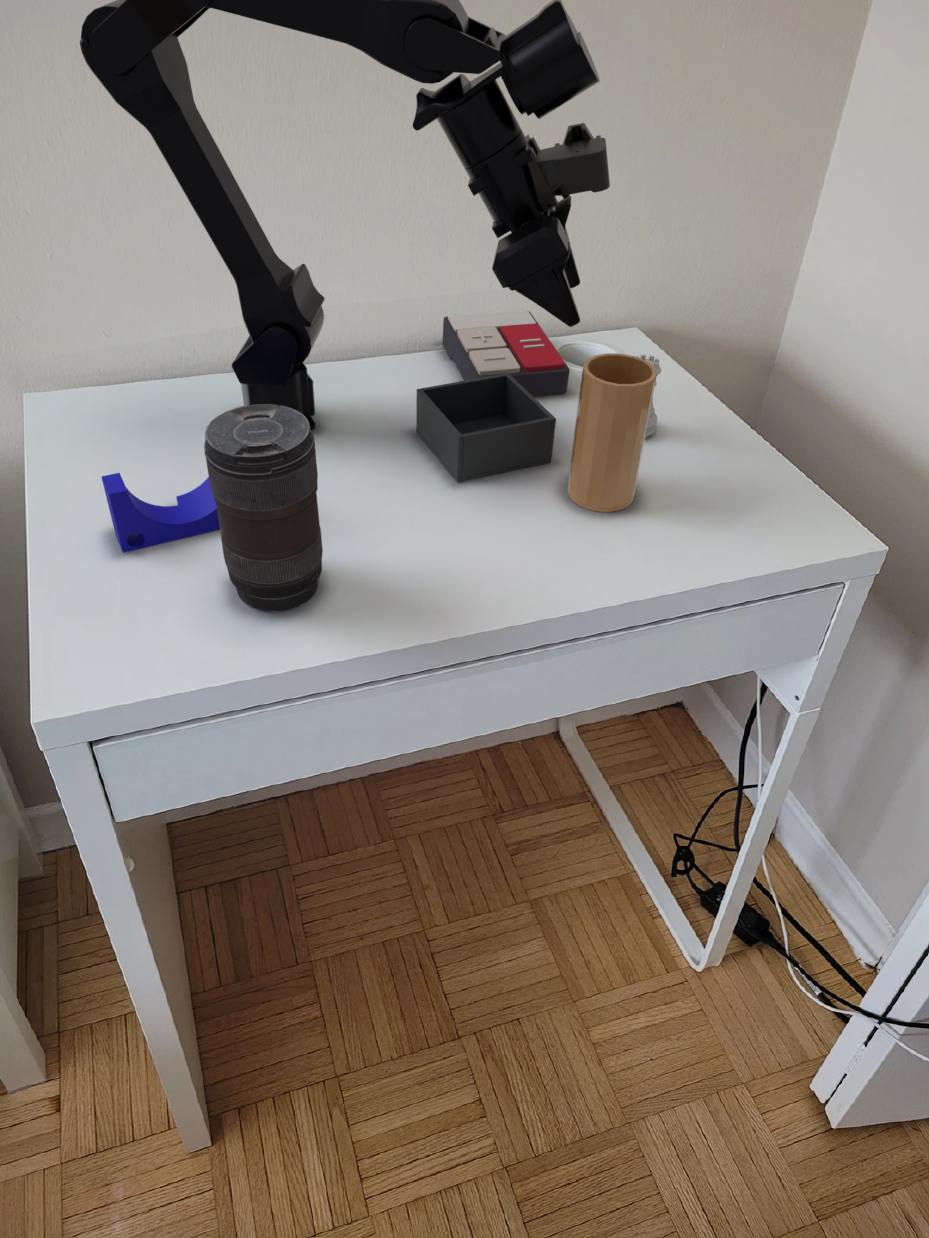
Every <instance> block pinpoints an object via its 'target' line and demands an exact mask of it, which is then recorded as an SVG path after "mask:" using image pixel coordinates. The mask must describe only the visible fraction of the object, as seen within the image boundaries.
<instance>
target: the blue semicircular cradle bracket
mask: <svg viewBox="0 0 929 1238" xmlns="http://www.w3.org/2000/svg"><path fill="white" fill-rule="evenodd" d="M101 482H102V485H103V489H104V494H105V497H106V502H107V507H108V510H109V514H110V518H111V522H112V526H113V530H114V534H115V536H116V539H117V542H118V544H119V547H120V550H121V551H122V554H125V553H129V552H133V551H137V550H141V549H146V548H149V547H153V546H157V545H162V544H166V543H171V542H174V541H178V540H182V539H187V538H192V537H195V536H198V535H199V536H201V535H203V534H206V533H212V532H215V531H220V525H219V519H218V512H217V506H216V502H215V499H214V496H213V493H212V490H211V486H210V480H209V476H208V477H207V478H206V479H205V480H204V481H203V482H202V483H200V485H198V486H197V487H195V488H194V489H192V490H190V491H188V492H186V493H183V494H180V495H176V496H175V498H176V504H177V505H168V506H166V505H156V504H153V503H150V502H146V501H144V500H141V499H140V498H138V497H137V496H135V495H134V494H133V493H132V492H131V491H130V490H129V488H128V487H127V486H126V484H125V482H124V479H123V478H122V475H121V473H120V472H116V473H111V474H107V475H106V474H105V475H102V476H101Z"/></svg>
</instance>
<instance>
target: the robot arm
mask: <svg viewBox="0 0 929 1238" xmlns="http://www.w3.org/2000/svg"><path fill="white" fill-rule="evenodd" d="M210 9H213V10H217V11H222V12H225V13H228V14H233V15H237V16H240V17H243V18H246V19H247V18H248V19H251V20H254V21H259V22H263V23H266V24H270V25H273V26H278V27H281V28H285V29H289V30H292V31H297V32H300V33H304V34H308V35H312V36H316V37H319V38H323V39H328V40H331V41H333V42H338V43H342V44H345V45H347V46H350V47H352V48H354V49H357V50H359V51H361V52H362V53H363V54H365V55H367V56H369V57H370V58H371V59H373V60H374V61H376V62H377V63H379V64H380V65H382V66H384V67H386V68H388V69H390V70H392V71H395V72H397V73H399V74H401V75H402V76H405V77H407V78H409V79H411V80H413V81H415V82H418V83H421V84H427V85H428V84H429V85H432V84H438V83H441V82H442V81H444V80H445V79H447V78H448V77H450V76H451V75H453V74H454V73H458V75H457V76H455V77H454V78H453V79H451V80H449V81H448V82H447V83H445V84H443V85H442V86H441V87H439V88H437V89H436V90H429V89H426V88H424V87H421V88H419V89H418V92H417V93H416V96H415V98H416V108H415V114H414V119H413V122H412V129H413V130H414V131H421V130H422V129H424V128H425V127H427V126H428V125H430V124H431V123H433V122H434V121H437V122H438V123H439V126H440V128H441V129H442V131H443V132H444V135H445V136H446V139H448V141H449V144H450V145H451V147H452V149H453V150H454V152H455V154H456V156H457V158H458V159H459V161H460V163H461V164H462V167H463V169H464V170H465V172H466V174H467V175H468V177H469V180H468V183H467V187H468V189H469V190H470V192H471V194H472V196H473V197H475V196H476V195H478V196H479V198H480V199H481V201H482V202H483V204H484V206H485V208H486V209H487V212H488V213H489V215H490V218H491V219H492V220H493V221H492V226H491V229H492V231H493V233H494V235H495V237H496V239H498V242H497V244H496V245H497V246H496V249H495V253H494V257H493V262H492V268H491V270H492V271H493V274H494V275H495V278H496V279H497V281H498V282H499V284H500V286H501V287H502V289H506V288H508V289H509V290H510V291H512V292H513V291H515V292H517V293H518V294H520V295H521V296H523V297H525V298H527V299H528V300H529V301H531V302H533V303H535V305H536V306H537V305H538V306H539V307H540V308H542V309H543V310H545V311H546V312H548V313H549V314H550V315H552V316H553V317H555V318H556V319H557V320H559V321H561V322H562V323H563V324H565V325H566V326H567V327H569V328H572V327H574V326H576V325H579V323H581V317H580V314H579V310H578V307H577V304H576V301H575V297H574V294H573V292H572V289H574V288H576V287H578V286H579V285H581V279H580V275H579V271H578V266H577V263H576V260H575V256H574V252H573V248H572V245H571V241H570V237H569V234H568V230H567V226H566V225H567V222H568V219H569V215H570V211H571V209H572V208H571V207H572V196H571V195H576V194H580V193H581V194H582V193H585V192H591V193H600V192H604V191H606V190H608V189H609V188H610V186H611V183H610V173H609V171H610V170H609V162H608V161H609V160H608V150H607V140H606V138H605V137H602V136H601V134H599V135H595V137H594V135H592V132H591V131H590V130H589V127H588V126H587V125H586V123H584V122H581V123H576V124H571V125H568V126H567V129H566V132H565V135H564V138H563V142H562V144H560V142H557V143H554V146H551V147H547V148H542V149H541V148H540V146H539V144H538V143H537V141H536V138H535V137H534V136H532V137H531V136H530V135H529V134H526V135H525V133H524V131H523V130H522V128H521V125H520V123H519V121H518V119H517V118H516V115H515V114H514V112H513V110H512V108H511V106H510V103H509V102H508V99H507V98H506V96H505V95H504V92H503V90H502V88H501V86H500V84H499V83H498V81H497V80H498V79H499V78H501V80H502V82H503V84H504V86H505V88H506V91H507V93H508V95H509V97H510V99H511V101H512V102H513V104H514V107H515V108H516V109H517V111H518V112H519V114H521V115H525V114H526V115H527V117H529V116H531V115H532V114H534V116H535V117H536V118H537V119H538V120H540V119H543V118H545V117H546V116H547V115H549V114H551V113H552V112H554V111H555V110H557V109H558V108H560V107H562V106H563V105H565V104H566V103H568V102H569V101H571V100H572V99H574V98H576V97H577V96H579V95H580V94H582V93H584V92H585V91H587V90H588V89H590V88H592V87H594V86H595V85H596V84H598V83H600V81H601V80H600V76H599V73H598V71H597V67H596V65H595V63H594V60H593V58H592V55H591V53H590V51H589V48H588V46H587V44H586V42H585V40H584V37H583V35H582V33H581V31H579V32H578V30H577V28H576V26H575V25H574V23H573V20H572V19H571V17H570V15H569V13H568V12H567V10H566V8H565V6H564V3H563V2H562V0H551V1H549V2H548V3H547V4H545V5H544V6H543V7H542V8H541V9H540V11H538V13H536V14H535V15H534V16H533V17H530V19H529V20H527V21H526V22H524V23H522V24H521V25H519V26H518V27H516V28H514V29H513V30H512V31H510V32H509V33H507V34H505V33H503V32H501V31H500V30H497V29H495V28H494V27H491V26H489V25H487V24H485V23H484V22H483V23H482V22H480V21H479V20H476V19H474V18H472V17H470V16H468V13H467V11H466V9H465V8H464V5H463V4H462V3H461V1H460V0H114V1H111V2H109V3H106V4H104V5H101V6H98V7H97V8H94V9H92V11H91V12H89V14H87V15H86V17H85V18H84V21H83V23H82V25H81V32H80V40H79V46H80V51H81V54H82V57H83V59H84V62H85V63H86V65H87V66H88V68H89V69H90V71H91V72H92V73H93V76H95V77H96V78H97V80H98V81H99V82H100V84H101V85H102V87H104V89H105V90H106V92H107V93H108V94H109V95H110V96H111V98H112V99H113V101H115V103H116V104H117V105H118V106H120V107H121V109H123V110H124V111H125V112H126V113H127V114H128V115H130V116H131V117H132V118H134V120H135V121H137V122H139V124H140V125H142V126H143V127H144V128H145V129H146V130H147V133H149V135H150V136H151V138H152V140H153V141H154V143H155V144H156V147H157V148H158V150H159V151H160V153H161V156H162V157H163V159H164V160H165V162H166V164H167V165H168V167H169V169H170V171H171V172H172V174H173V176H174V177H175V179H176V181H177V183H178V184H179V186H180V188H181V190H182V192H184V195H185V197H186V199H187V200H188V202H189V204H190V205H191V207H192V209H193V210H194V213H195V214H196V216H197V218H198V219H199V221H200V222H201V224H202V227H203V228H204V230H205V231H206V233H207V235H208V236H209V238H210V240H211V241H212V243H213V245H214V248H215V249H216V250H217V252H218V254H219V256H220V257H221V260H222V261H223V262H224V264H225V266H226V268H227V269H228V271H229V273H230V275H231V276H232V278H233V280H234V283H235V285H236V290H237V294H238V300H239V303H240V304H239V305H240V311H241V316H242V320H243V322H244V326H245V328H246V331H247V333H248V335H249V336H248V337H247V339H246V341H245V342H244V343H243V345H242V347H240V350H239V352H238V354H237V355H236V357H235V358H234V360H233V361H232V363H231V368H232V370H233V372H234V374H235V376H236V378H237V381H238V382H239V383H240V386H241V392H242V401H243V406H249V405H258V404H274V405H278V406H285V407H289V408H292V409H294V410H296V411H299V412H300V413H302V414H303V415H304V416H305V417H306V418H307V420H308V422H309V424H310V429H311V431H313V430H316V429H317V423H316V422H315V419H313V417H314V416H315V415H316V406H315V391H314V380H313V379H312V377H311V376H310V375H309V373H308V368H307V366H306V364H305V363H304V362H305V361H306V360H307V358H308V357H309V356H310V354H311V352H312V349H313V347H314V346H315V343H316V341H317V340H318V337H319V335H320V333H321V331H322V328H323V326H324V321H325V312H324V309H323V304H324V301H325V300H326V299H325V296H323V295H322V294H321V293H320V292H319V291H318V289H317V288H316V286H315V285H314V282H313V280H312V277H311V274H310V271H309V269H308V267H307V265H306V264H305V263H301V264H300V265H298V266H297V267H295V268H294V269H293V268H291V267H290V266H289V265H288V264H287V263H286V262H284V261H283V260H282V258H280V257H279V256H278V255H277V254H276V252H275V250H274V248H273V246H272V245H271V243H270V241H269V239H268V237H267V235H266V234H265V232H264V229H263V228H262V225H261V224H260V222H259V221H258V218H257V217H256V215H255V213H254V211H253V209H252V207H251V206H250V204H249V202H248V201H247V197H246V196H245V195H244V193H243V191H242V189H241V187H240V186H239V183H238V181H237V180H236V178H235V176H234V174H233V173H232V170H231V169H230V167H229V165H228V163H227V161H226V160H225V157H224V156H223V153H222V152H221V150H220V148H219V146H218V145H217V143H216V141H215V139H214V137H213V136H212V134H211V132H210V130H209V127H208V126H207V124H206V122H205V121H204V118H203V117H202V115H201V113H200V111H199V109H198V107H197V105H196V103H195V99H194V94H193V88H192V84H191V79H190V73H189V68H188V63H187V60H186V57H185V54H184V52H183V49H182V46H181V44H180V40H179V37H180V36H181V35H183V34H184V33H185V32H186V31H187V30H189V29H190V27H192V26H193V25H194V24H195V23H196V22H197V21H199V19H200V18H201V17H202V16H204V15H205V13H206V12H208V11H209V10H210ZM497 63H498V64H497ZM492 66H493V67H492ZM465 74H471V75H479V76H477V77H475V78H474V79H471V80H470V79H469V78H468V77H467V76H466V75H465ZM557 197H562V199H560V200H559V201H558V199H557ZM508 233H509V234H508ZM505 235H506V236H505ZM503 236H504V237H503ZM501 237H502V238H501ZM499 238H500V239H499Z"/></svg>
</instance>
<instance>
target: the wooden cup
mask: <svg viewBox="0 0 929 1238" xmlns="http://www.w3.org/2000/svg"><path fill="white" fill-rule="evenodd" d="M656 376H657V372H656V370H655V368H654V366H652V365H651V364H650V363H649V362H647V361H645V360H643V359H640V357H639V358H638V357H636V356H635V355H630V354H626V353H625V354H624V353H613V352H612V353H609V352H607V353H601V354H596V355H593V356H591V357H589V358H587V359H586V360H585V362H584V364H583V365H582V371H581V379H580V387H579V394H578V395H579V396H578V403H577V411H576V416H575V425H574V433H573V442H572V449H571V456H570V464H569V472H568V478H567V479H568V480H567V496H568V497H569V499H571V500H572V502H573V503H574V504H576V505H578V506H580V507H581V508H583V509H586V510H589V511H594V512H601V513H611V512H618V511H621V510H623V509H626V508H628V507H629V506H630V505H631V504H632V502H633V501H634V497H635V494H636V488H637V483H638V479H639V478H638V477H639V474H640V473H639V472H640V467H641V462H642V457H643V452H644V447H645V440H646V438H645V436H646V430H647V425H648V419H649V414H650V409H651V403H652V398H653V399H654V391H655V388H656V386H655V382H657V377H658V376H657V377H656Z"/></svg>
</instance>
